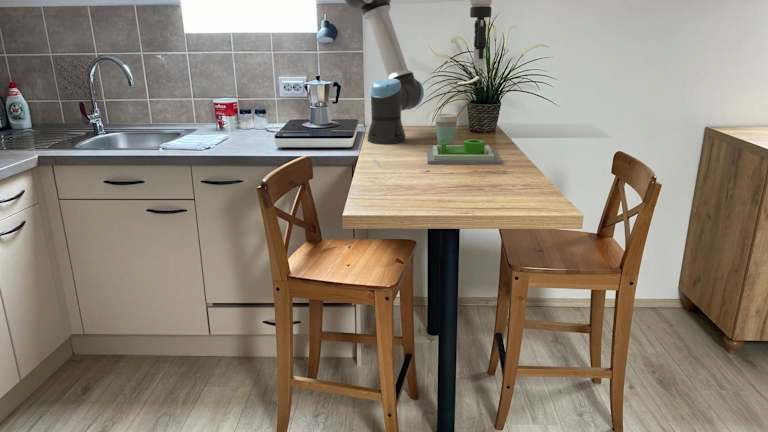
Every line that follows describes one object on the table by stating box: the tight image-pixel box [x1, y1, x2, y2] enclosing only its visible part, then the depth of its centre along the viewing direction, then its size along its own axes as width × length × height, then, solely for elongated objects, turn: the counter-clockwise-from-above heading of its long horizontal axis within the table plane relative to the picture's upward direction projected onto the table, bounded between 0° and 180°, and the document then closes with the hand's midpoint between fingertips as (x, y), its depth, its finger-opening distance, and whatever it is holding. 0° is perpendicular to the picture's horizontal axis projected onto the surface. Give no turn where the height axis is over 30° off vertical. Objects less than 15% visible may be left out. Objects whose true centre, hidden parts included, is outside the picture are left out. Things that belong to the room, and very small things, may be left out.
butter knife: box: [372, 158, 383, 169], centre depth 189 cm, size 1×27×3 cm
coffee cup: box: [434, 113, 459, 145], centre depth 217 cm, size 9×8×12 cm
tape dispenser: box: [440, 139, 486, 155], centre depth 202 cm, size 15×7×5 cm, turn 88°
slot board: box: [426, 144, 502, 165], centre depth 202 cm, size 24×20×2 cm
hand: (478, 66), depth 216 cm, fingers open, 13 cm apart
